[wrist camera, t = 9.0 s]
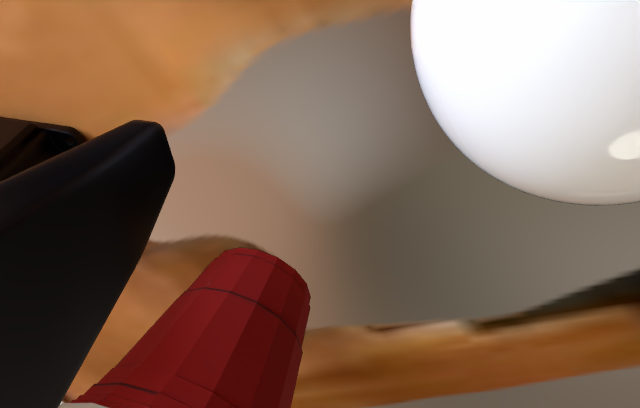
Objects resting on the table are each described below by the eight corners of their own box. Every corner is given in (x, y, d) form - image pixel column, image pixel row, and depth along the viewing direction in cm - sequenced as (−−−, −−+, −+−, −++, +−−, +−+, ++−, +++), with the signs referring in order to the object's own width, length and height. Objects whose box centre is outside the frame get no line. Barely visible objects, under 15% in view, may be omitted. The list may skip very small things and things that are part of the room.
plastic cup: (248, 176, 27) (101, 413, 19) (396, 317, 31) (325, 565, 23) (135, 247, 34) (-7, 442, 26) (267, 354, 38) (178, 555, 30)
